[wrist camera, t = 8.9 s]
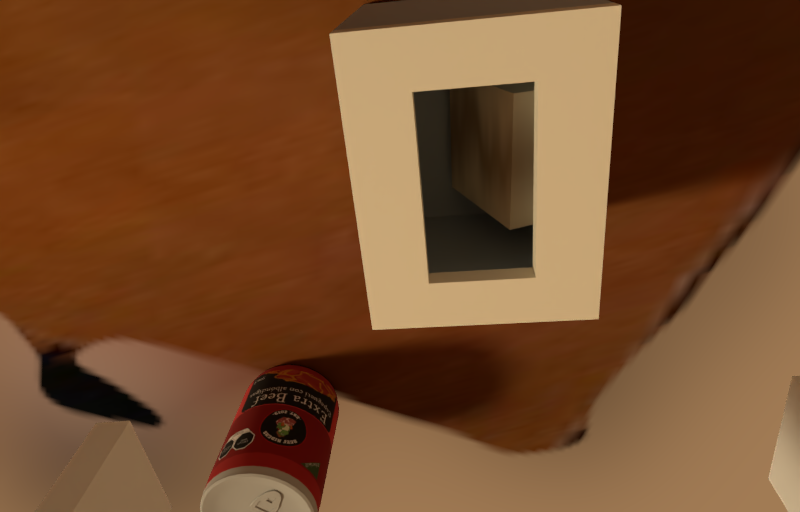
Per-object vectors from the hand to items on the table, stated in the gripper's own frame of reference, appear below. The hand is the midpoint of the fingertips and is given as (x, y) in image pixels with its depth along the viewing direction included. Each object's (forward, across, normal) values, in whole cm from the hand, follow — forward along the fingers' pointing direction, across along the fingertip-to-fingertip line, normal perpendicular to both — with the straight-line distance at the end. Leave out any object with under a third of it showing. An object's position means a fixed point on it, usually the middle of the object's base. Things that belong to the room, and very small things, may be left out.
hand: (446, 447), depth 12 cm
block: (+26, +2, -1) cm, 26 cm away
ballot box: (+27, +2, -1) cm, 27 cm away
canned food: (+27, -14, -22) cm, 38 cm away
